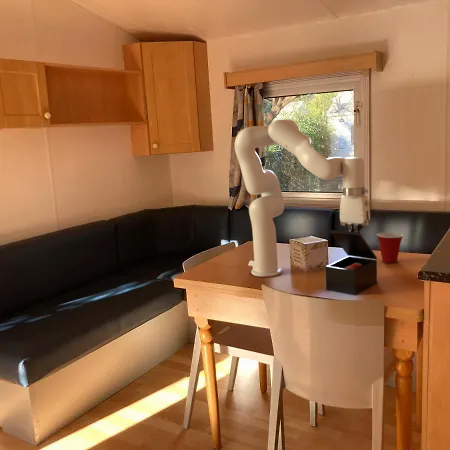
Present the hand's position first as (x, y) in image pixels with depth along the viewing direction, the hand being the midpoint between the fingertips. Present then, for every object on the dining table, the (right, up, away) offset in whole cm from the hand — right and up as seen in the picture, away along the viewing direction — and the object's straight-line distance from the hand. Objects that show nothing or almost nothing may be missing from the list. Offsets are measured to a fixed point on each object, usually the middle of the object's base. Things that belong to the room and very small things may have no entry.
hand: (354, 241), depth 181 cm
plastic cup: (+23, -10, +29) cm, 38 cm away
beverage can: (-1, -16, +1) cm, 16 cm away
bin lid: (-1, -1, -1) cm, 2 cm away
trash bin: (-1, -16, +1) cm, 16 cm away
